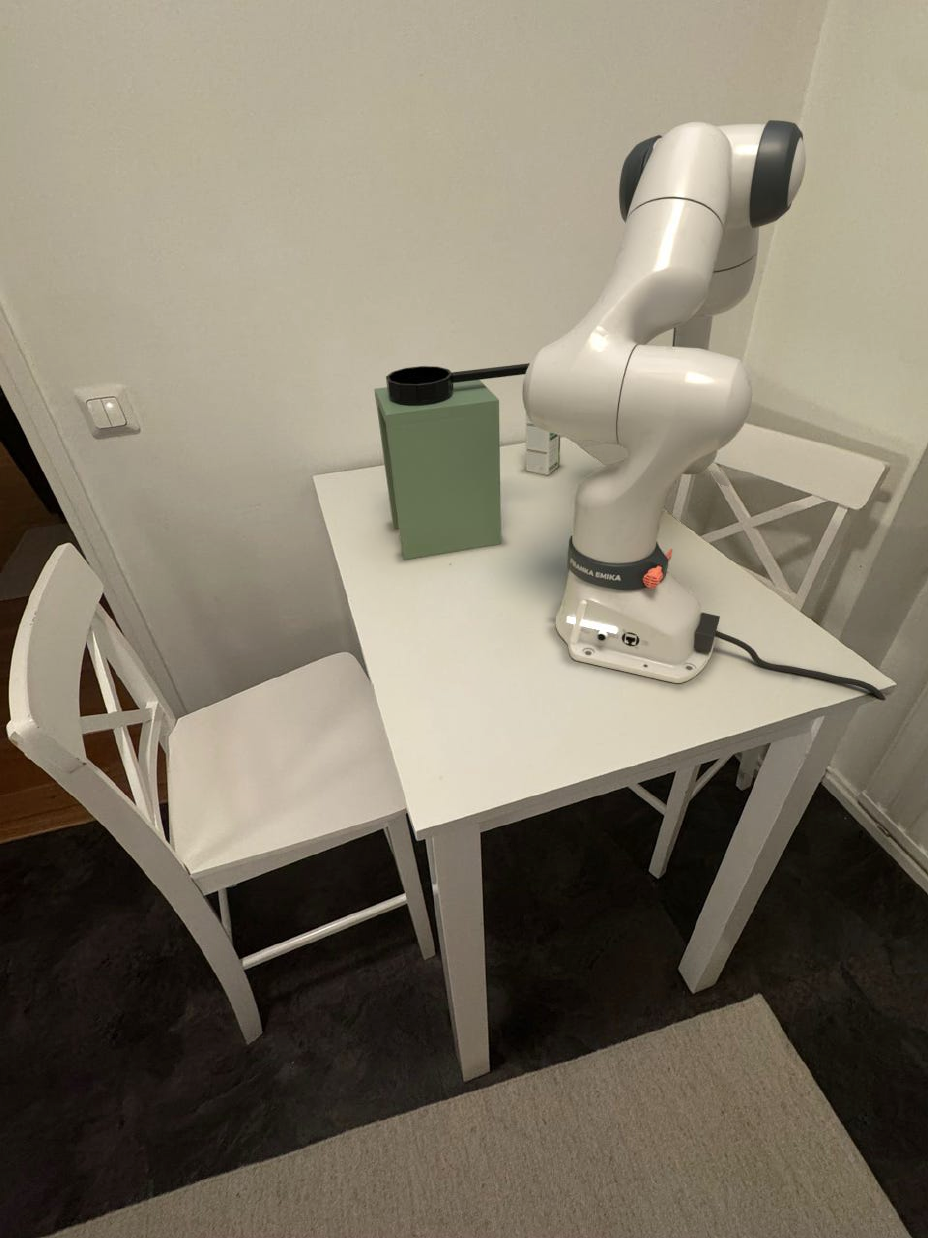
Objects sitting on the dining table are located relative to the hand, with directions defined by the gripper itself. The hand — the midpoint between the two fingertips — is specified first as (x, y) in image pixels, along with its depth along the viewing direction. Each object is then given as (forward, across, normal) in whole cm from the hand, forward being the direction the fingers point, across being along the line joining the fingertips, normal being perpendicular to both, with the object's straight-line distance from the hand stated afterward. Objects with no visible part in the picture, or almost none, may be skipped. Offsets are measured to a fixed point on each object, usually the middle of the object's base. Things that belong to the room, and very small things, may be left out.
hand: (584, 397), depth 105 cm
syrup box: (-12, -22, +19) cm, 31 cm away
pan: (+20, 0, +7) cm, 21 cm away
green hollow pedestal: (+12, 0, +33) cm, 35 cm away
